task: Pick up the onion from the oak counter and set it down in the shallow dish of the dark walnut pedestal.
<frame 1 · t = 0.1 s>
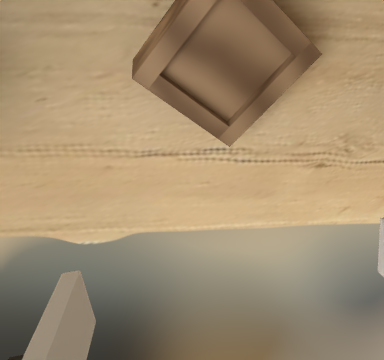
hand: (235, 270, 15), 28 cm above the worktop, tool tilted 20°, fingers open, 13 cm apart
walnut pedestal: (218, 48, 36), on the worktop
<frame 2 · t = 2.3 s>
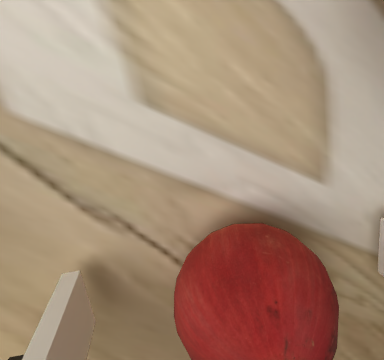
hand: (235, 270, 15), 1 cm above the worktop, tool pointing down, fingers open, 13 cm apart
onion: (232, 247, 16), on the worktop
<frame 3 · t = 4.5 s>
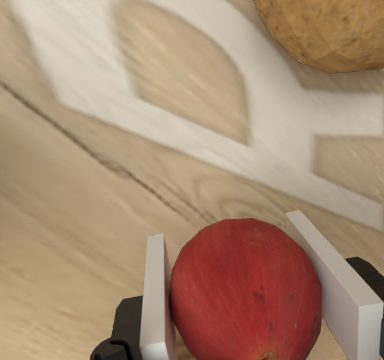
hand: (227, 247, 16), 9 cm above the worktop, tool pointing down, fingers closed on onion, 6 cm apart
onion: (226, 242, 17), point 9 cm above the worktop, touching gripper
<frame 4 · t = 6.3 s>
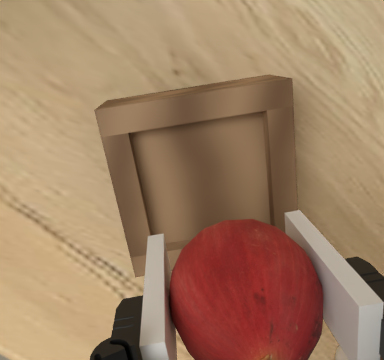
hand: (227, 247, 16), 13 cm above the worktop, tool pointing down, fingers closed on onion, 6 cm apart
walnut pedestal: (199, 164, 29), on the worktop
coffee cup: (359, 350, 38), on the worktop
onion: (226, 243, 17), point 13 cm above the worktop, touching gripper
when the fingers open (6 cm above the worktop, at t = 8.2 s): onion drops 1 cm, resting on walnut pedestal.
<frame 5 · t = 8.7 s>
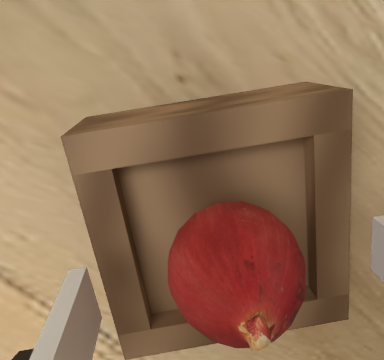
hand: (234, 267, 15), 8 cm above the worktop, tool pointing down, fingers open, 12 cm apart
walnut pedestal: (211, 200, 22), on the worktop
onion: (217, 228, 18), point 4 cm above the worktop, touching walnut pedestal
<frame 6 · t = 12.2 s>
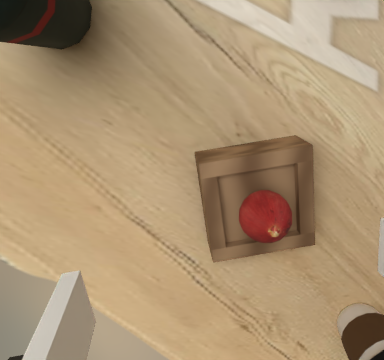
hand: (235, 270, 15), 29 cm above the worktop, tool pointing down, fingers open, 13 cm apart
walnut pedestal: (249, 190, 45), on the worktop
coffee cup: (354, 317, 54), on the worktop
wine bottle: (63, 3, 36), on the worktop
onion: (256, 202, 41), point 4 cm above the worktop, touching walnut pedestal
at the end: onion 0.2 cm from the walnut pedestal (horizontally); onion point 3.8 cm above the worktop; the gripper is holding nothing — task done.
